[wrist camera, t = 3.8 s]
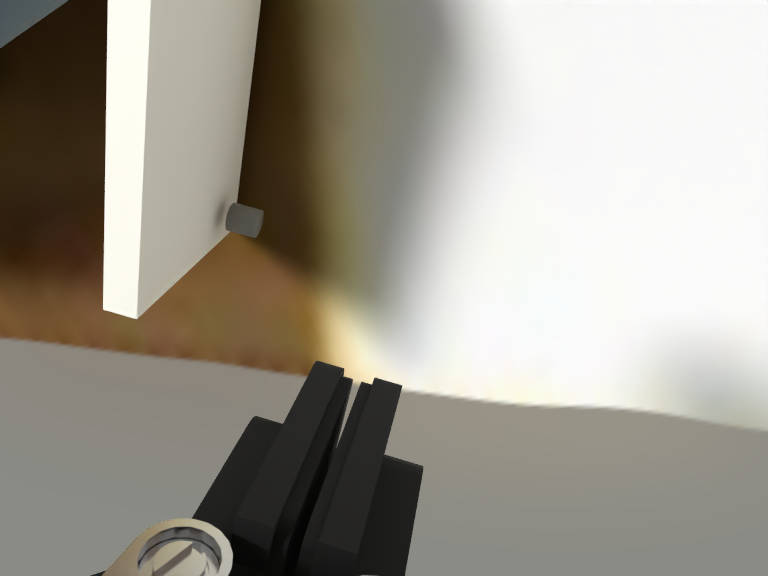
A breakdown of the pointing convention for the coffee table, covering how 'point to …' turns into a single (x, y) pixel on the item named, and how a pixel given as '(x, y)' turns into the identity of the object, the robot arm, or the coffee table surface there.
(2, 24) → the cabinet
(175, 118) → the left door
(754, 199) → the coffee table surface
